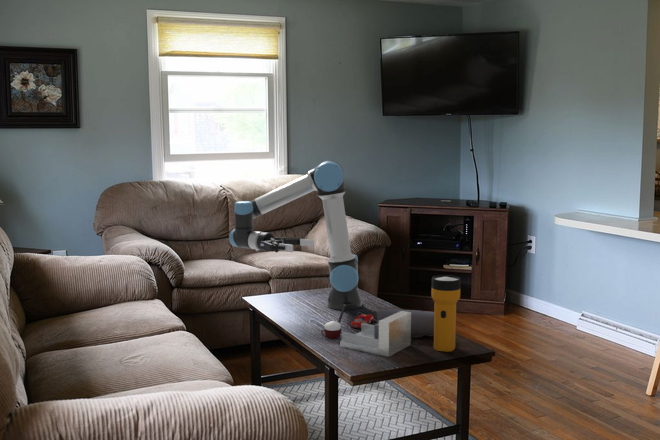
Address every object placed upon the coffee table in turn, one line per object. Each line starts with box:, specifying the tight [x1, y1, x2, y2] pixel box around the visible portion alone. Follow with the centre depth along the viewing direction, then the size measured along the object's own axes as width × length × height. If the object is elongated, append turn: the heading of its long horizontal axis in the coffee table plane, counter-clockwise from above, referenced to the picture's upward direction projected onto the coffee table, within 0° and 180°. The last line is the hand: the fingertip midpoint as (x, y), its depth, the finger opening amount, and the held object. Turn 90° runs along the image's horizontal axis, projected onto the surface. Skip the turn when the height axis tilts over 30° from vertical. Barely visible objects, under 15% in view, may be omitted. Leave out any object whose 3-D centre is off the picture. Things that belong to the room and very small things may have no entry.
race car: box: [350, 313, 375, 329], centre depth 272 cm, size 13×5×4 cm, turn 150°
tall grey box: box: [373, 322, 379, 339], centre depth 244 cm, size 4×3×6 cm
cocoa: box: [320, 305, 346, 340], centre depth 255 cm, size 10×6×12 cm, turn 88°
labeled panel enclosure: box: [339, 311, 412, 358], centre depth 245 cm, size 16×20×12 cm
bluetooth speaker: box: [376, 308, 434, 338], centre depth 257 cm, size 23×9×10 cm, turn 78°
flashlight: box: [430, 274, 462, 353], centre depth 241 cm, size 10×26×10 cm
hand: (303, 246), depth 267 cm, fingers open, 13 cm apart
